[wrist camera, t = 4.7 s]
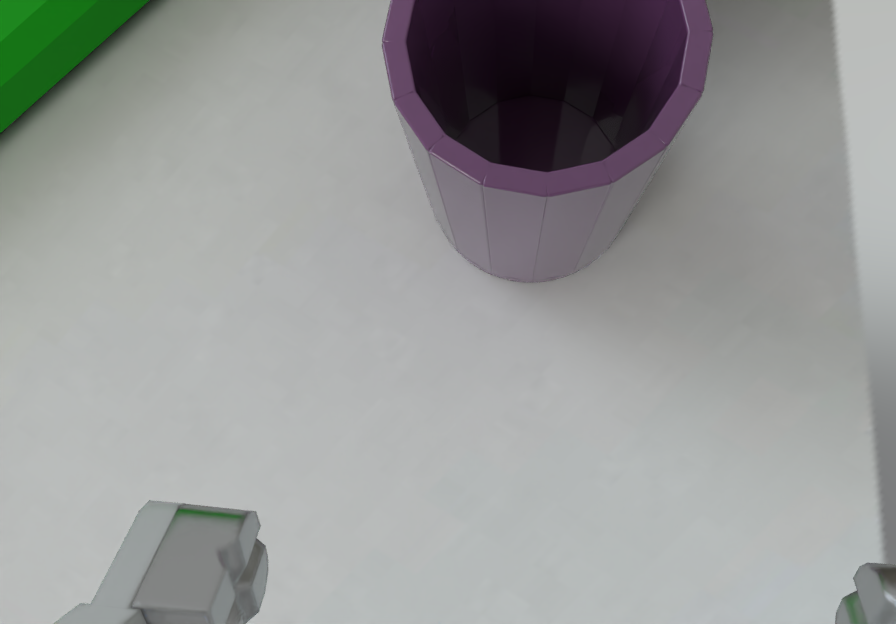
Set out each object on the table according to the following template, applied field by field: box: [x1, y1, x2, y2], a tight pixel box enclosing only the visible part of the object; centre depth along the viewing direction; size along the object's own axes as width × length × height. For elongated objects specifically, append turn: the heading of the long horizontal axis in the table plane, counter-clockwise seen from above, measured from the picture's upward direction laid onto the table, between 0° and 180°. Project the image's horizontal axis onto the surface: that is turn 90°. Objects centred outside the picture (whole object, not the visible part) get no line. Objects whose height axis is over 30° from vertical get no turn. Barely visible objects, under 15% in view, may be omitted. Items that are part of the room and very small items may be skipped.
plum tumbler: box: [382, 0, 713, 282], centre depth 20 cm, size 6×6×10 cm
